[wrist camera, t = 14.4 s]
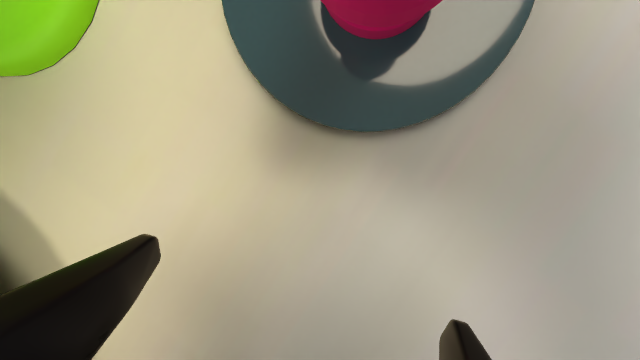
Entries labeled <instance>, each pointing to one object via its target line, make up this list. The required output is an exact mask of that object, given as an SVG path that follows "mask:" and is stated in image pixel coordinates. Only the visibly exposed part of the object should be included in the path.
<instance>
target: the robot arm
mask: <svg viewBox="0 0 640 360" xmlns="http://www.w3.org/2000/svg"><path fill="white" fill-rule="evenodd" d="M160 257H161V254H160V248H159V242H158V239H157V238H156V237H155V236H151V235H148V234H142V235H139V236H137V237H135V238H132V239H130V240H128V241H125V242H123V243H121V244H118V245H116V246H114V247H111V248H109V249H107V250H104V251H102V252H100V253H98V254H95V255H93V256H91V257H88V258H86V259H84V260H81V261H79V262H77V263H74V264H72V265H70V266H67V267H65V268H63V269H61V270H58V271H56V272H54V273H51V274H49V275H47V276H44V277H42V278H40V279H37V280H35V281H33V282H30V283H28V284H26V285H23V286H21V287H19V288H17V289H14V290H12V291H10V292H7V293H5V294H3V295H0V360H91V359H92V358H93V357H94V355H95V354H96V353H97V351H98V350H99V349H100V348H101V346H102V345H103V344H104V342H105V341H106V340H107V338H108V337H109V336H110V334H111V333H112V332H113V330H114V329H115V328H116V327H117V325H118V324H119V323H120V321H121V320H122V319H123V317H124V316H125V315H126V313H127V312H128V311H129V309H130V308H131V306H132V305H133V303H134V302H135V300H136V299H137V297H138V296H139V294H140V292H141V291H142V289H143V288H144V286H145V284H146V283H147V281H148V279H149V278H150V276H151V275H152V273H153V271H154V270H155V268H156V267H157V265H158V263H159V261H160ZM439 360H492V359H491V358H490V356H489V355H488V353H487V352H486V350H485V349H484V347H483V346H482V344H481V343H480V341H479V340H478V338H477V337H476V335H475V334H474V332H473V331H472V329H471V328H470V326H469V325H468V324H467V323H465V322H462V321H458V320H454V319H453V320H451V321H450V322H449V323H448V325H447V327H446V328H445V330H444V331H443V333H442V335H441V337H440V343H439Z"/></svg>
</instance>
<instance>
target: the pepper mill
mask: <svg viewBox="0 0 640 360" xmlns="http://www.w3.org/2000/svg"><path fill="white" fill-rule="evenodd" d="M320 1H321V2H322V3H323V4H324V5H325V6H326V8H327V10H328V12H329V14H330V15H331V17H332V18H333V19H334V20H335V22H336V23H337V24H338V25H339V26H340V27H342V28H343V29H344V30H346V31H347V32H349V33H351V34H353V35H356V36H358V37H362V38H366V39H384V38H389V37H393V36H396V35H398V34H400V33H402V32H404V31H406V30H407V29H409V28H410V27H412V26H413V25H414V24H415V23H417V22H418V21H419V20H420V19H421V18H422V17H423V16H424V14H425V13H426V12H428V11H429V10H431V9H432V8H434V7H435V6H436V5H438V4H439V3H440V2H441V1H442V0H320Z"/></svg>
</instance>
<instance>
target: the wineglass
mask: <svg viewBox="0 0 640 360" xmlns="http://www.w3.org/2000/svg"><path fill="white" fill-rule="evenodd" d="M97 3H98V0H0V76H20V75H30V74H32V73H35V72H37V71H40V70H42V69H45V68H47V67H50V66H53V65H54V64H55V63H56V62H58V61H59V60H60V59H61V58H62V57H64V56H65V55H66V54H67V53H68V52H70V51H71V50H72V49H73V48H74V47H75V46H76V44H77V43H78V41H79V40H80V38H81V37H82V35H83V34H84V32H85V31H86V29H87V28H88V26H89V25H90V23H91V21H92V18H93V15H94V12H95V9H96V6H97Z"/></svg>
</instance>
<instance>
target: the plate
mask: <svg viewBox="0 0 640 360" xmlns="http://www.w3.org/2000/svg"><path fill="white" fill-rule="evenodd" d="M534 1H535V0H442V1H441V2H440V3H439V4H438V5H436V6H435V7H434V8H432V9H431V10H429V11H428V12H426V13H425V14H424V16H423V17H422V18H421V19H420V20H419V21H418V22H417V23H415V24H414V25H413V26H412V27H410V28H409V29H407V30H406V31H404V32H402V33H400V34H398V35H396V36H393V37H389V38H384V39H366V38H362V37H358V36H356V35H353V34H351V33H349V32H347V31H346V30H344V29H343V28H342V27H340V26H339V25H338V24H337V23H336V22H335V20H334V19H333V18H332V17H331V15H330V14H329V12H328V10H327V8H326V6H325V5H324V4H323V3H322V2H321V1H320V0H222V5H223V10H224V15H225V18H226V21H227V25H228V28H229V31H230V34H231V36H232V39H233V41H234V43H235V45H236V48H237V50H238V52H239V54H240V55H241V57H242V59H243V60H244V62H245V64H246V65H247V67H248V69H249V70H250V71H251V73H252V74H253V75H254V76H255V78H256V79H257V80H258V81H259V83H260V84H261V85H262V86H263V87H264V88H265V89H266V90H267V91H268V92H269V93H270V94H271V95H272V96H273V97H274V98H275V99H277V100H278V101H279V102H281V103H282V104H283V105H285V106H286V107H287V108H289V109H290V110H292V111H294V112H296V113H297V114H299V115H301V116H303V117H305V118H306V119H309V120H311V121H314V122H316V123H319V124H322V125H324V126H328V127H332V128H336V129H340V130H348V131H357V132H381V131H387V130H394V129H400V128H404V127H407V126H411V125H414V124H418V123H421V122H423V121H425V120H428V119H430V118H432V117H435V116H437V115H439V114H441V113H443V112H444V111H446V110H448V109H450V108H451V107H453V106H455V105H457V104H458V103H459V102H461V101H462V100H463V99H465V98H466V97H467V96H469V95H470V94H471V93H473V92H474V91H475V90H476V89H477V88H478V87H479V86H480V85H481V84H482V83H484V82H485V81H486V80H487V79H488V78H489V77H490V76H491V75H492V74H493V72H494V71H495V70H496V69H497V67H498V66H499V65H500V64H501V63H502V61H503V60H504V59H505V58H506V56H507V55H508V53H509V52H510V50H511V49H512V47H513V46H514V44H515V42H516V41H517V39H518V38H519V36H520V34H521V32H522V30H523V28H524V26H525V24H526V22H527V19H528V17H529V15H530V12H531V10H532V7H533V4H534Z"/></svg>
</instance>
